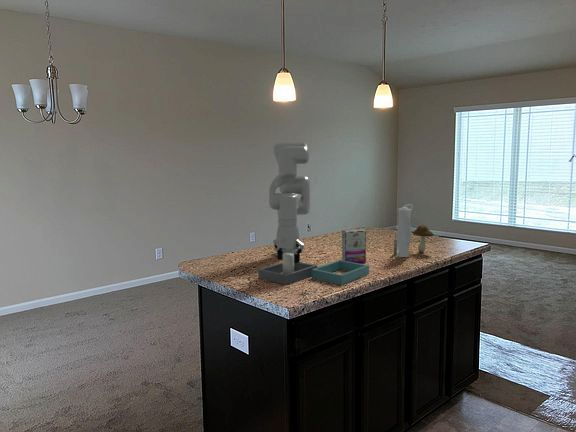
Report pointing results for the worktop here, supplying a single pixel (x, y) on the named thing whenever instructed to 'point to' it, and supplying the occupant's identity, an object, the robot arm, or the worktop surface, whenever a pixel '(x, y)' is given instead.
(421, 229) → the mushroom
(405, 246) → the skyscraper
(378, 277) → the worktop surface
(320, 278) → the bin
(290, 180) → the robot arm
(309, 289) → the worktop surface
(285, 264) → the canister
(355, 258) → the candy bar box
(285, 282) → the bin
